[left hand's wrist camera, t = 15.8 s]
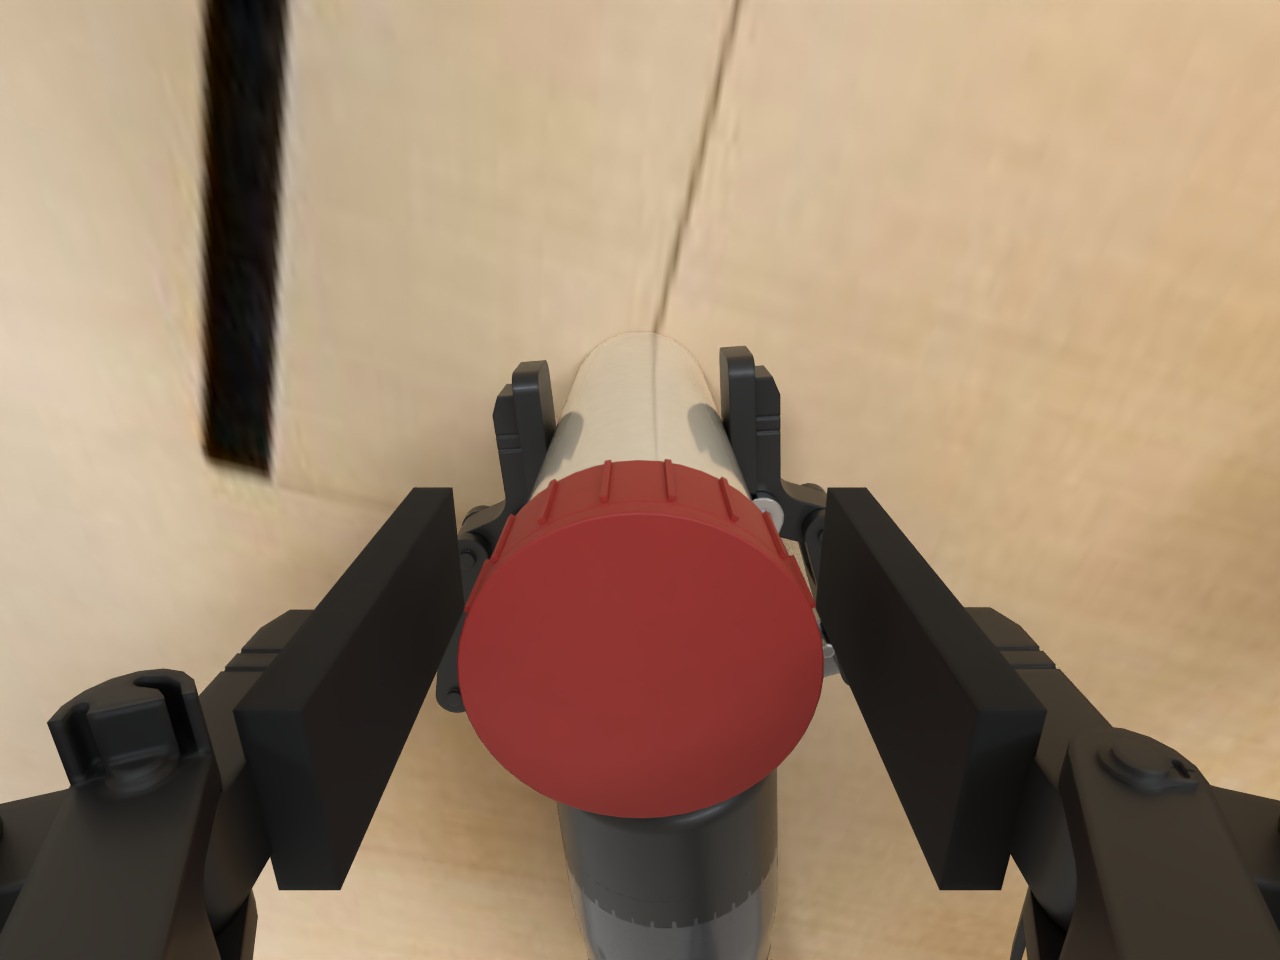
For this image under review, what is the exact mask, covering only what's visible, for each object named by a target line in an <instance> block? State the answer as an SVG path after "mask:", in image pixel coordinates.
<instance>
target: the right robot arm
mask: <svg viewBox="0 0 1280 960" xmlns="http://www.w3.org/2000/svg"><path fill="white" fill-rule="evenodd" d="M720 388H721V416H722V423H723V426H724V429H725V431H726V434H727V436H728V439H729V441H730V444H731V447H732V449H733V452H734V454H735V457H736V459H737V462H738V465H739V467H740V470H741V472H742V475H743V478H744V480H745V483H746V485H747V488H748V490H749V493H750V496H751V498H752V501H753V503H754V504H755V505H756V506H757V507H758V508H759V509H760V510H761V511H762V512H765V511H766V510H767V511H768V513H769V514H770V515H771V518H772V520H773V522H774V525H775V527H776V529H777V532H778V534H779V536H780V537H782V538H786V539H790V540H794V541H798V543H799V547H800V551H801V555H802V558H803V562H804V566H805V569H806V573H807V577H808V580H809V584H810V588H811V591H812V595H813V599H814V602H815V604H816V595H817V585H818V576H819V566H820V556H821V547H822V537H823V528H824V518H825V509H826V499H827V494H826V493H825V491H824V490H823V489H822V488H821V487H820V486H818V485H816V484H811V483H807V484H802V485H797V484H793V483H790V482H787V481H784V480H783V479H781V478H780V393H779V391H778V389H777V386H776V384H775V382H774V379H773V377H772V376H771V374H770V373H769V372H768V371H767V369H766V368H765V367H764V366H755V364H754V358H753V355H752V354H751V352H750V351H749V350H748V348H747V347H746V346H736V347H723V348H720ZM493 421H494V427H495V434H496V440H497V446H498V450H499V459H500V465H501V471H502V478H503V484H504V490H505V497H506V499H505V500H504V501H502V502H500V503H498V504H495V505H493V506H491V507H489V506H477V507H475V508H473V509H471V510H470V511H469V513H468V514H467V516H466V518H465V519H464V521H463V524H462V528H461V530H460V531H459V533H458V535H457V537H458V547H459V556H460V566H461V576H462V585H463V595H464V604H465V605H466V603H467V600H468V598H469V596H470V594H471V591H472V589H473V587H474V585H475V582H476V580H477V578H478V576H479V573H480V571H481V569H482V567H483V564H484V562H485V560H486V559H488V560H490V559H491V556H492V554H493V552H494V549H495V547H496V545H497V542H498V540H499V538H500V535H501V533H502V531H503V528H504V526H505V524H506V521H507V519H508V517H509V516H510V515H511V514H513V515H514V516H516V515H517V513H518V512H519V511H520V510H521V509H522V508H523V506H525V505H526V504H527V503H528V500H529V497H530V495H531V492H532V490H533V487H534V484H535V482H536V479H537V477H538V474H539V471H540V469H541V466H542V464H543V461H544V458H545V456H546V453H547V451H548V448H549V445H550V443H551V440H552V438H553V435H554V432H555V430H556V422H555V414H554V406H553V398H552V390H551V382H550V374H549V368H548V364H547V361H546V360H543V361H531V362H521V363H520V364H519V365H518V367H517V368H516V369H515V371H514V372H513V374H512V384H507V385H506V386H505V387H504V388H503V390H502V391H501V392H500V394H499V395H498V396H497V400H496V404H495V408H494V412H493ZM812 610H813V613H814V615H815V618H816V621H817V624H818V628H819V631H820V634H821V639H822V646H823V653H824V677H826V676H830V675H833V674H837V673H840V674H841V676H842V678H843V680H844V682H845V683H846V684H847V685H849V683H848V681H847V679H846V676H845V674H844V672H843V670H842V667H841V665H840V663H839V661H838V658H837V656H836V654H835V651H834V649H833V647H832V645H831V642H830V640H829V638H828V636H827V633H826V631H825V629H824V627H823V624H822V622H821V620H820V617H819V615H818V613H817V611H816V608H812ZM466 616H467V613H466V612H464V611H463V613H462V615H461V617H460V620H459V622H458V624H457V627H456V629H455V631H454V633H453V636H452V638H451V640H450V642H449V645H448V647H447V649H446V651H445V654H444V656H443V658H442V661H441V663H440V665H439V667H438V670H437V685H436V699H437V701H438V703H439V704H440V706H441V707H443V708H444V709H446V710H448V711H450V712H456V713H459V712H464V711H466V710H465V707H464V704H463V702H462V697H461V693H460V688H459V683H458V671H457V655H458V646H459V639H460V635H461V632H462V628H463V624H464V620H465V618H466ZM557 807H558V813H559V820H560V826H561V832H562V839H563V845H564V851H565V858H566V864H567V871H568V877H569V884H570V890H571V896H572V901H573V906H574V910H575V915H576V919H577V922H578V925H579V928H580V931H581V934H582V937H583V939H584V942H585V944H586V947H587V953H588V960H771V932H772V926H773V922H774V917H775V910H776V902H777V891H778V835H777V768H775V769H774V770H773V771H772V772H771V773H769V774H768V775H767V776H766V777H765V778H764V779H762V780H761V781H759V782H758V783H756V784H755V785H753V786H752V787H750V788H749V789H747V790H746V791H744V792H742V793H740V794H738V795H736V796H734V797H732V798H730V799H728V800H726V801H723V802H721V803H718V804H715V805H713V806H710V807H708V808H704V809H700V810H697V811H693V812H689V813H685V814H679V815H673V816H666V817H653V818H627V817H616V816H608V815H601V814H596V813H592V812H588V811H584V810H580V809H577V808H574V807H571V806H568V805H566V804H563V803H560V802H557Z"/></svg>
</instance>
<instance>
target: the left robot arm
mask: <svg viewBox="0 0 1280 960" xmlns="http://www.w3.org/2000/svg"><path fill="white" fill-rule="evenodd" d="M464 608H465V604H464V595H463V585H462V576H461V566H460V556H459V547H458V537H457V528H456V518H455V509H454V499H453V489H452V488H413V489H412V491H411V492H410V493H409V494H408V495H407V497H406V498H405V499H404V500H403V502H402V503H401V504H400V505H399V506H398V508H397V509H396V510H395V511H394V513H393V514H392V515H391V516H390V518H389V519H388V520H387V521H386V522H385V524H384V525H383V526H382V527H381V529H380V530H379V531H378V532H377V533H376V535H375V536H374V537H373V538H372V540H371V541H370V542H369V543H368V545H367V546H366V547H365V548H364V549H363V551H362V552H361V553H360V554H359V556H358V557H357V558H356V559H355V560H354V562H353V563H352V564H351V565H350V567H349V568H348V569H347V570H346V572H345V573H344V574H343V575H342V576H341V578H340V579H339V580H338V581H337V583H336V584H335V585H334V586H333V587H332V589H331V590H330V591H329V592H328V594H327V595H326V596H325V597H324V599H323V600H322V601H321V602H320V603H319V605H318V606H317V607H316V608H315V610H289V611H287V612H286V613H284V614H282V615H281V616H279V617H278V618H276V619H274V620H273V621H271V622H269V623H268V624H266V625H265V626H263V627H261V628H260V629H259V630H258V631H257V632H256V634H255V635H254V636H253V637H252V638H251V639H250V640H249V641H248V642H247V643H246V645H245V646H244V647H243V648H242V649H241V653H237V654H236V656H235V657H234V658H233V659H232V660H231V661H230V662H229V663H228V664H227V665H226V667H225V671H224V672H220V673H219V674H218V675H217V676H216V678H215V679H214V680H213V681H212V682H211V683H210V684H209V685H208V686H207V688H206V689H205V690H204V691H203V692H202V693H201V694H200V695H199V696H198V692H197V689H196V685H195V682H194V679H192V678H191V677H190V676H188V675H187V674H186V673H184V672H183V671H176V670H170V669H155V670H145V671H138V672H134V673H131V674H127V675H123V676H120V677H116V678H113V679H110V680H108V681H105V682H103V683H101V684H99V685H97V686H94V687H92V688H90V689H88V690H85V691H84V692H82V693H81V694H79V695H78V696H76V697H75V698H73V699H72V700H70V701H69V702H67V703H66V704H64V705H63V706H61V707H60V709H59V710H58V711H57V712H56V713H55V714H54V715H53V716H52V718H51V719H50V720H49V721H48V722H47V724H48V727H49V729H50V732H51V735H52V737H53V740H54V742H55V745H56V748H57V750H58V753H59V756H60V758H61V761H62V764H63V766H64V769H65V771H66V774H67V777H68V779H69V782H70V788H69V789H66V790H62V791H57V792H53V793H48V794H44V795H39V796H34V797H30V798H25V799H21V800H16V801H12V802H7V803H3V804H0V960H253V952H254V944H255V935H256V927H257V919H258V915H257V908H256V901H255V898H254V894H253V890H252V887H253V886H254V884H255V882H256V880H257V879H258V877H259V875H260V873H261V872H262V870H263V868H264V866H265V865H266V863H267V861H268V859H269V858H271V861H272V865H273V869H274V873H275V877H276V881H277V885H278V888H279V890H341V888H342V885H343V883H344V881H345V878H346V876H347V874H348V872H349V869H350V867H351V865H352V863H353V860H354V858H355V856H356V853H357V851H358V849H359V847H360V844H361V842H362V840H363V838H364V835H365V833H366V831H367V828H368V826H369V824H370V822H371V819H372V817H373V815H374V813H375V810H376V808H377V806H378V804H379V801H380V799H381V797H382V794H383V792H384V790H385V788H386V785H387V783H388V781H389V779H390V776H391V774H392V772H393V769H394V767H395V765H396V763H397V760H398V758H399V756H400V754H401V751H402V749H403V747H404V745H405V742H406V740H407V738H408V735H409V733H410V731H411V729H412V726H413V724H414V722H415V720H416V717H417V715H418V713H419V710H420V708H421V706H422V704H423V701H424V699H425V697H426V695H427V692H428V690H429V688H430V686H431V683H432V681H433V679H434V676H435V674H436V672H437V670H438V667H439V665H440V663H441V661H442V658H443V656H444V654H445V651H446V649H447V647H448V645H449V642H450V640H451V638H452V636H453V633H454V631H455V629H456V627H457V624H458V622H459V620H460V617H461V615H462V613H463V611H464ZM815 608H816V611H817V613H818V615H819V617H820V620H821V622H822V624H823V627H824V629H825V631H826V633H827V636H828V638H829V640H830V642H831V645H832V647H833V649H834V651H835V654H836V656H837V658H838V661H839V663H840V665H841V667H842V670H843V672H844V674H845V676H846V679H847V681H848V683H849V686H850V688H851V690H852V692H853V695H854V697H855V699H856V701H857V704H858V706H859V708H860V710H861V713H862V715H863V717H864V720H865V722H866V724H867V726H868V729H869V731H870V733H871V735H872V738H873V740H874V742H875V745H876V747H877V749H878V751H879V754H880V756H881V758H882V760H883V763H884V765H885V767H886V769H887V772H888V774H889V776H890V779H891V781H892V783H893V785H894V788H895V790H896V792H897V794H898V797H899V799H900V801H901V804H902V806H903V808H904V810H905V813H906V815H907V817H908V819H909V822H910V824H911V826H912V829H913V831H914V833H915V835H916V838H917V840H918V842H919V844H920V847H921V849H922V851H923V853H924V856H925V858H926V860H927V863H928V865H929V867H930V869H931V872H932V874H933V876H934V878H935V881H936V883H937V885H938V888H939V890H1001V888H1002V885H1003V881H1004V877H1005V873H1006V869H1007V865H1008V861H1009V858H1010V854H1011V856H1012V857H1013V859H1014V861H1015V863H1016V864H1017V866H1018V868H1019V870H1020V871H1021V873H1022V875H1023V876H1024V878H1025V880H1026V882H1027V883H1028V885H1029V887H1028V890H1027V894H1026V898H1025V901H1024V905H1023V908H1022V912H1021V916H1020V919H1019V923H1018V926H1017V930H1016V934H1015V937H1014V941H1013V944H1012V951H1011V957H1010V960H1022V956H1023V953H1024V950H1025V947H1026V950H1027V958H1028V960H1280V801H1278V800H1274V799H1269V798H1265V797H1260V796H1256V795H1251V794H1247V793H1242V792H1237V791H1233V790H1228V789H1224V788H1219V787H1215V786H1212V785H1210V784H1209V783H1208V781H1207V780H1206V779H1205V777H1204V776H1203V775H1202V773H1201V772H1200V771H1199V769H1198V768H1197V767H1196V766H1195V765H1194V764H1192V763H1191V762H1190V761H1189V760H1187V759H1186V758H1185V757H1183V756H1182V755H1181V754H1180V753H1178V752H1177V751H1176V750H1174V749H1172V748H1170V747H1168V746H1166V745H1164V744H1162V743H1160V742H1158V741H1156V740H1155V739H1153V738H1151V737H1148V736H1145V735H1142V734H1139V733H1136V732H1132V731H1129V730H1126V729H1122V728H1114V727H1112V726H1111V725H1110V724H1109V722H1108V721H1107V720H1106V719H1105V718H1104V717H1103V716H1102V715H1101V714H1100V713H1099V712H1098V710H1097V709H1096V708H1095V707H1094V706H1093V705H1092V704H1091V703H1090V702H1089V701H1088V699H1087V698H1086V697H1085V696H1084V695H1083V694H1082V693H1081V692H1080V691H1079V690H1078V689H1077V687H1076V686H1075V685H1074V684H1073V683H1072V682H1071V681H1070V680H1069V679H1068V678H1067V677H1066V675H1065V674H1064V673H1063V672H1062V671H1061V670H1060V669H1056V667H1055V663H1054V662H1053V661H1052V660H1051V659H1050V658H1049V657H1048V656H1047V655H1046V654H1045V652H1044V651H1040V650H1039V646H1038V645H1037V644H1036V643H1035V642H1034V640H1033V639H1032V638H1031V637H1030V636H1029V635H1028V634H1027V633H1026V632H1025V631H1024V629H1023V628H1022V627H1021V626H1020V625H1018V624H1017V623H1015V622H1013V621H1012V620H1010V619H1008V618H1007V617H1005V616H1003V615H1002V614H1000V613H999V612H997V611H995V610H994V609H992V608H990V607H963V606H962V605H961V603H960V602H959V601H958V600H957V599H956V597H955V596H954V595H953V594H952V592H951V591H950V590H949V589H948V587H947V586H946V585H945V584H944V583H943V581H942V580H941V579H940V578H939V576H938V575H937V574H936V573H935V572H934V570H933V569H932V568H931V567H930V565H929V564H928V563H927V562H926V560H925V559H924V558H923V557H922V556H921V554H920V553H919V552H918V551H917V549H916V548H915V547H914V546H913V545H912V543H911V542H910V541H909V540H908V538H907V537H906V536H905V535H904V533H903V532H902V531H901V530H900V529H899V527H898V526H897V525H896V524H895V522H894V521H893V520H892V519H891V518H890V516H889V515H888V514H887V513H886V511H885V510H884V509H883V508H882V506H881V505H880V504H879V503H878V502H877V500H876V499H875V498H874V497H873V495H872V494H871V493H870V492H869V491H868V489H867V488H828V489H827V499H826V509H825V518H824V528H823V537H822V547H821V556H820V566H819V576H818V585H817V595H816V607H815Z"/></svg>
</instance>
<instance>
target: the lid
mask: <svg viewBox="0 0 1280 960" xmlns="http://www.w3.org/2000/svg"><path fill="white" fill-rule="evenodd" d="M815 607H816V604H815V602H814V599H813V597H812V595H811V593H810V590H809V588H808V586H807V584H806V581H805V579H804V577H803V575H802V572H801V570H800V568H799V566H798V563H797V561H796V559H795V557H794V555H791V556H789V555H788V552H787V550H786V548H785V546H784V544H783V542H782V540H781V538H780V536H779V534H778V532H777V529H776V527H775V525H774V522H773V520H772V518H771V515H770V514H769V513H768V511H767V510H766V511H765V512H762V511H761V510H760V509H759V508H758V507H757V506H756V505H755V504H754V503H753V502H752V501H751V500H750V499H748V498H747V497H746V496H745V495H743V494H742V493H741V492H740V491H739V490H737V489H735V488H734V487H732V486H730V485H729V484H728V481H727V479H726V478H724V477H721V478H720V479H718V478H716V477H714V476H712V475H710V474H707V473H705V472H703V471H700V470H697V469H694V468H690V467H687V466H684V465H680V464H674V463H672V461H671V460H670V459H665V461H664V462H663V461H649V460H631V461H618V462H612V461H611V460H605V462H604V464H602V465H597V466H593V467H590V468H587V469H584V470H581V471H578V472H575V473H573V474H571V475H569V476H567V477H565V478H563V479H561V480H559V481H556V479H553V480H552V481H550V482H549V485H548V487H547V488H546V489H544V490H543V491H541V492H540V493H538V494H537V495H536V496H535V497H534V498H533V499H531V500H530V501H529V502H528V503H527V504H526V505H525V506H523V508H522V509H521V510H520V511H519V512H518V513H517V515H516V516H514V515H513V514H511V515H510V516H509V517H508V519H507V521H506V524H505V526H504V528H503V531H502V533H501V535H500V538H499V540H498V542H497V545H496V547H495V549H494V552H493V554H492V556H491V559H490V560H488V559H486V560H485V562H484V564H483V567H482V569H481V571H480V573H479V576H478V578H477V580H476V582H475V585H474V587H473V589H472V591H471V594H470V596H469V598H468V600H467V603H466V605H465V608H464V612H466V613H467V616H466V618H465V620H464V624H463V628H462V632H461V635H460V639H459V646H458V655H457V671H458V683H459V688H460V693H461V697H462V702H463V704H464V707H465V710H466V712H467V715H468V718H469V720H470V722H471V724H472V726H473V728H474V729H475V731H476V733H477V735H478V737H479V738H480V740H481V741H482V742H483V744H484V745H485V746H486V748H487V749H488V750H489V752H490V753H491V754H492V755H493V756H494V757H495V758H496V759H497V760H498V762H499V763H500V764H501V765H502V766H503V767H504V768H505V769H507V770H508V771H509V772H510V773H511V774H513V775H514V776H515V777H516V778H518V779H519V780H520V781H521V782H523V783H525V784H526V785H528V786H529V787H531V788H533V789H534V790H536V791H537V792H539V793H541V794H543V795H545V796H547V797H549V798H551V799H553V800H555V801H557V802H560V803H563V804H566V805H568V806H571V807H574V808H577V809H580V810H584V811H588V812H592V813H596V814H601V815H608V816H616V817H627V818H653V817H666V816H673V815H679V814H685V813H689V812H693V811H697V810H700V809H704V808H708V807H710V806H713V805H715V804H718V803H721V802H723V801H726V800H728V799H730V798H732V797H734V796H736V795H738V794H740V793H742V792H744V791H746V790H747V789H749V788H750V787H752V786H753V785H755V784H756V783H758V782H759V781H761V780H762V779H764V778H765V777H766V776H767V775H768V774H769V773H771V772H772V771H773V770H774V769H775V768H777V767H778V766H779V765H780V764H781V763H782V762H783V760H784V759H785V758H786V757H787V756H788V755H789V754H790V753H791V752H792V751H793V749H794V748H795V746H796V745H797V744H798V742H799V741H800V739H801V738H802V736H803V735H804V734H805V732H806V730H807V728H808V726H809V724H810V722H811V720H812V718H813V716H814V713H815V710H816V707H817V704H818V701H819V698H820V694H821V688H822V682H823V677H824V653H823V646H822V639H821V634H820V631H819V628H818V624H817V621H816V618H815V615H814V613H813V610H812V608H815Z"/></svg>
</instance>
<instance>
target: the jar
mask: <svg viewBox="0 0 1280 960" xmlns="http://www.w3.org/2000/svg"><path fill="white" fill-rule="evenodd" d="M665 459H670V460H671V461H672V463H674V464H680V465H684V466H687V467H690V468H694V469H697V470H700V471H703V472H705V473H707V474H710V475H712V476H714V477H716V478H718V479H720V478H721V477H724V478H726V479H727V481H728V484H729V485H730V486H732V487H734V488H735V489H737V490H739V491H740V492H741V493H742V494H743V495H745V496H746V497H747V498H748V499H750V500H751V501H752V498H751V496H750V493H749V490H748V488H747V485H746V483H745V480H744V478H743V475H742V472H741V470H740V467H739V465H738V462H737V459H736V457H735V454H734V452H733V449H732V447H731V444H730V441H729V439H728V436H727V434H726V431H725V429H724V426H723V423H722V421H721V418H720V416H719V413H718V411H717V408H716V405H715V403H714V400H713V398H712V395H711V392H710V390H709V387H708V385H707V382H706V380H705V377H704V374H703V372H702V370H701V368H700V366H699V364H698V363H697V361H696V360H695V358H694V357H693V356H692V355H691V353H690V352H689V351H688V350H686V349H685V348H684V347H683V346H682V345H680V344H679V343H677V342H676V341H674V340H672V339H670V338H668V337H666V336H663V335H660V334H657V333H652V332H642V331H639V332H629V333H623V334H620V335H617V336H614V337H612V338H610V339H608V340H606V341H604V342H603V343H601V344H600V345H598V346H597V347H596V348H595V349H594V350H593V351H592V352H591V353H590V354H589V355H588V356H587V357H586V359H585V360H584V362H583V363H582V365H581V366H580V369H579V371H578V373H577V375H576V378H575V380H574V383H573V385H572V388H571V391H570V393H569V396H568V398H567V401H566V404H565V406H564V409H563V412H562V414H561V417H560V419H559V422H558V425H557V427H556V430H555V432H554V435H553V438H552V440H551V443H550V445H549V448H548V451H547V453H546V456H545V458H544V461H543V464H542V466H541V469H540V471H539V474H538V477H537V479H536V482H535V484H534V487H533V490H532V492H531V495H530V497H529V500H528V502H529V501H530V500H531V499H533V498H534V497H535V496H536V495H537V494H538V493H540V492H541V491H543V490H544V489H546V488H547V487H548V485H549V482H550V481H552V480H553V479H556V481H559V480H561V479H563V478H565V477H567V476H569V475H571V474H573V473H575V472H578V471H581V470H584V469H587V468H590V467H593V466H597V465H602V464H604V462H605V460H611V461H612V462H618V461H631V460H649V461H663V462H664V461H665ZM752 502H753V501H752Z"/></svg>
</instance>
